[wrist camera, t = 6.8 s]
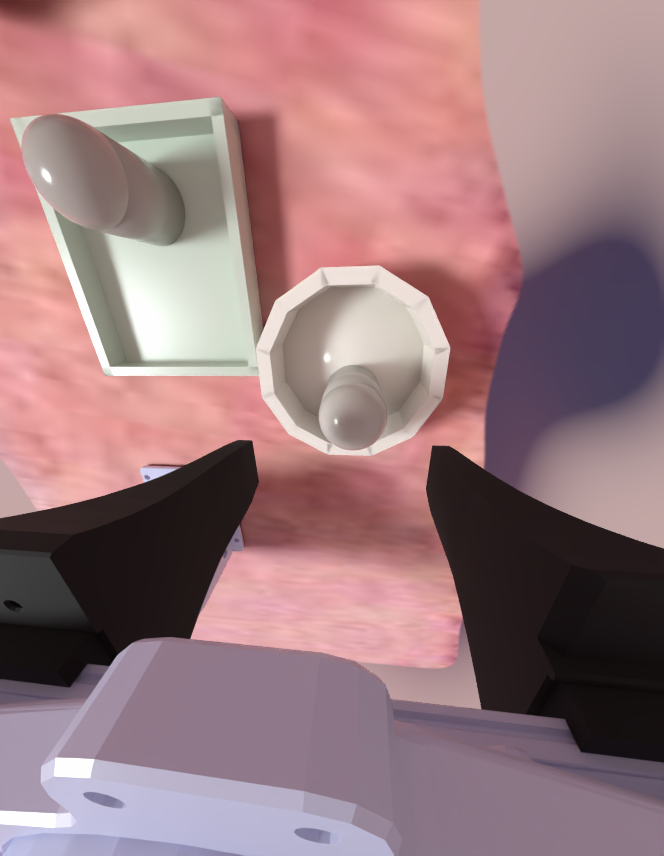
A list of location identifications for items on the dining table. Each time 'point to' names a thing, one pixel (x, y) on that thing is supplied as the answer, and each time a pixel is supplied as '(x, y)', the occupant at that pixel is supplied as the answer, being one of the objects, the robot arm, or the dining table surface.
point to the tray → (171, 251)
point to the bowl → (352, 351)
